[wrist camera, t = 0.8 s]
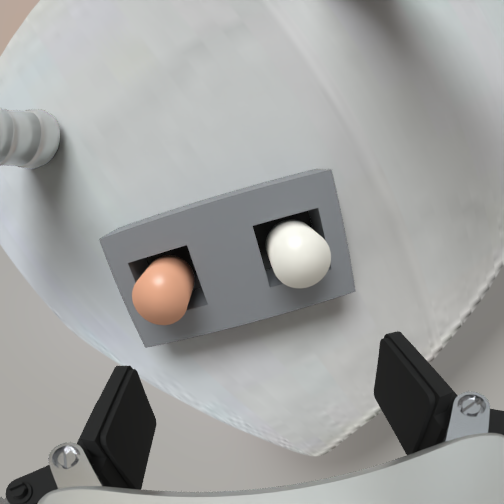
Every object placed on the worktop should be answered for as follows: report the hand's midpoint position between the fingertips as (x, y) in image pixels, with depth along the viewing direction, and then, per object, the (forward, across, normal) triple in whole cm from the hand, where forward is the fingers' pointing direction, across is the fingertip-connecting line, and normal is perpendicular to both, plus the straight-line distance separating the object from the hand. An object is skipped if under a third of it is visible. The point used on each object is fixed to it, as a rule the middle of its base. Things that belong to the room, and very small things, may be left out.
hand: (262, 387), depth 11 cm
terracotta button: (+19, +7, +2) cm, 21 cm away
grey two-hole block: (+23, +2, +1) cm, 23 cm away
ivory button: (+19, -4, 0) cm, 20 cm away
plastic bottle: (+23, +21, -15) cm, 35 cm away
